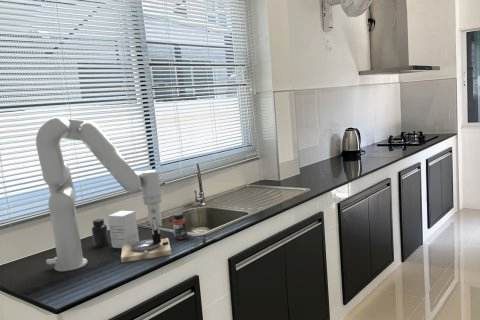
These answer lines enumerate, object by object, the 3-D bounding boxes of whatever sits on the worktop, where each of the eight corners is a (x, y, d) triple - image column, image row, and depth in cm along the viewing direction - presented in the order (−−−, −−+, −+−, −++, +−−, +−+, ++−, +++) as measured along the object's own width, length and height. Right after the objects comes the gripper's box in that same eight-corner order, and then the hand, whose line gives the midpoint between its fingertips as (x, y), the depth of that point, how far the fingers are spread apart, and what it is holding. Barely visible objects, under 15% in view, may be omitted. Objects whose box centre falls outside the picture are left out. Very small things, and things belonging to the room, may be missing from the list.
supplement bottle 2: (181, 235, 210) (178, 211, 209) (190, 236, 206) (187, 212, 205) (172, 239, 205) (169, 215, 204) (180, 240, 202) (178, 216, 200)
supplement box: (124, 241, 209) (120, 210, 207) (140, 242, 205) (136, 210, 203) (111, 247, 201) (106, 215, 199) (126, 249, 197) (122, 216, 195)
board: (121, 262, 179) (120, 256, 179) (123, 249, 197) (122, 243, 196) (171, 254, 183) (170, 248, 183) (168, 242, 201) (168, 236, 200)
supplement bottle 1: (103, 242, 211) (99, 217, 209) (112, 243, 207) (109, 218, 205) (90, 246, 205) (87, 221, 204) (100, 248, 201) (96, 222, 200)
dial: (129, 253, 183) (127, 237, 182) (132, 244, 195) (130, 229, 194) (160, 248, 185) (159, 233, 184) (161, 240, 196) (160, 225, 196)
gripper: (161, 202, 181) (166, 246, 183) (160, 194, 197) (165, 235, 199) (143, 204, 179) (148, 248, 181) (143, 197, 195) (147, 237, 197)
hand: (157, 241), depth 190 cm, fingers closed on dial, 3 cm apart
